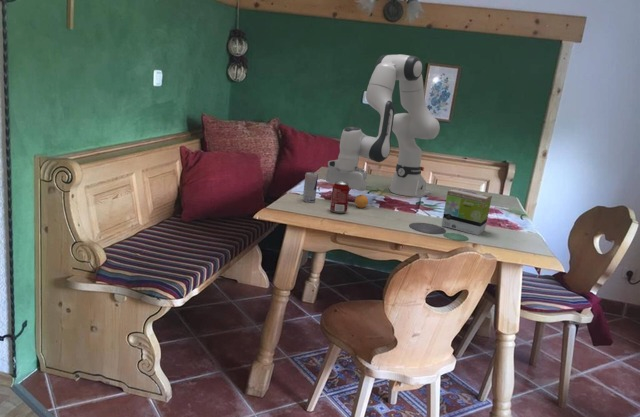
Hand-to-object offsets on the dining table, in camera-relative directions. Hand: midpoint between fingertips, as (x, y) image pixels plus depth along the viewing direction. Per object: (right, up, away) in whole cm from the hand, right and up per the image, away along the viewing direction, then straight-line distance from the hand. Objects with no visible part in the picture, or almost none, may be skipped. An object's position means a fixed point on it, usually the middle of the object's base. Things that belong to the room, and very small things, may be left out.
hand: (343, 196), depth 226 cm
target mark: (+31, -13, -26) cm, 43 cm away
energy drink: (-15, -2, -3) cm, 16 cm away
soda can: (-3, -7, -16) cm, 18 cm away
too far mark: (+40, -16, -34) cm, 55 cm away
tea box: (+46, -13, -21) cm, 52 cm away
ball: (+7, -2, -6) cm, 10 cm away
